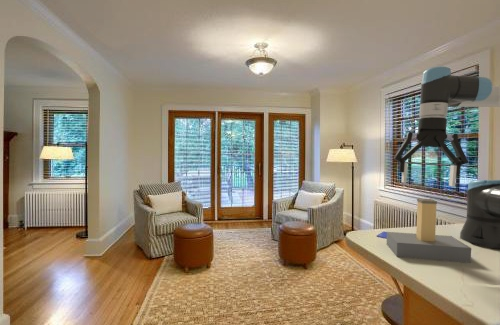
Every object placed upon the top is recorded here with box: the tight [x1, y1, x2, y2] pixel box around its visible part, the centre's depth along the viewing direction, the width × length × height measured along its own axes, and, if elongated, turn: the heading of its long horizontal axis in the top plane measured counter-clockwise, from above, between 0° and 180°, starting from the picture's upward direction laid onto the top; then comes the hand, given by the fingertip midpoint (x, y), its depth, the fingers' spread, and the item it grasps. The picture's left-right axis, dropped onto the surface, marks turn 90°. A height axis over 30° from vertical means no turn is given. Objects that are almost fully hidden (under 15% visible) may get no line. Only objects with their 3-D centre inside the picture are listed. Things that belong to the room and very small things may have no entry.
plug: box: [415, 198, 438, 242], centre depth 90 cm, size 4×4×15 cm
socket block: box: [386, 231, 472, 264], centre depth 91 cm, size 20×12×5 cm, turn 78°
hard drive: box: [376, 231, 388, 240], centre depth 106 cm, size 2×8×12 cm
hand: (427, 184), depth 90 cm, fingers open, 13 cm apart
